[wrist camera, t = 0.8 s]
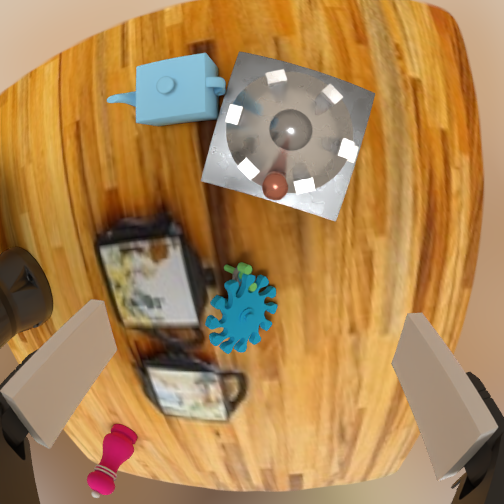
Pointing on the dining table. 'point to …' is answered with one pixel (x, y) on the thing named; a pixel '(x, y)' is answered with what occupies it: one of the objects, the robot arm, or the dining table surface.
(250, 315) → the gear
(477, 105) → the dining table surface
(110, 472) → the pepper mill
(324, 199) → the base plate
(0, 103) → the dining table surface
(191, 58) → the teapot
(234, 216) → the dining table surface
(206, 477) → the dining table surface
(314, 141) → the grey rounded piece
